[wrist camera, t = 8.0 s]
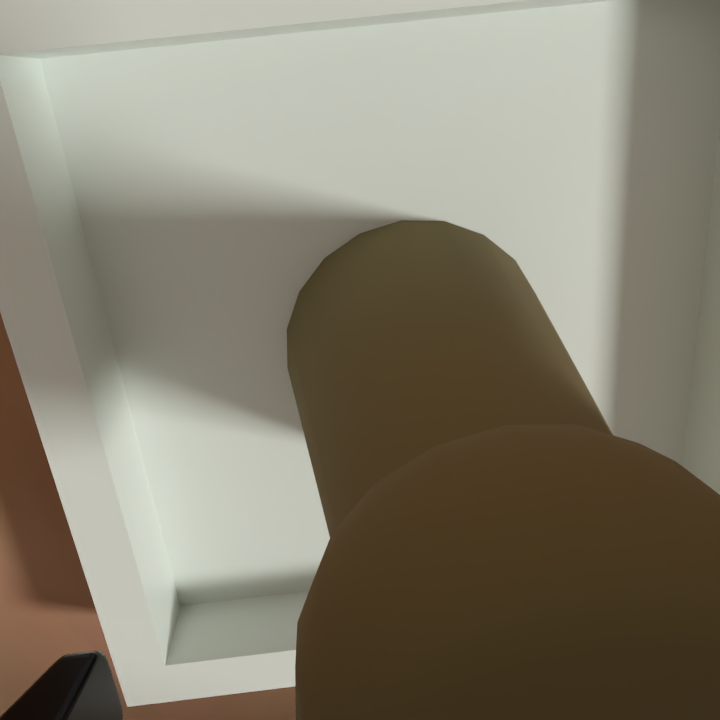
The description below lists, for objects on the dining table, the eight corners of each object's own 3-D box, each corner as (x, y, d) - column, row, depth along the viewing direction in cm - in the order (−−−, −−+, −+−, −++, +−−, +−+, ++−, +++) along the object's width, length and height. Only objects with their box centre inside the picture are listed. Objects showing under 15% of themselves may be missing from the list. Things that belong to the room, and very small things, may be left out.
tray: (770, -78, 14) (886, -119, 11) (693, 553, 20) (754, 629, 17) (-19, 0, 13) (-108, -22, 10) (154, 618, 19) (127, 706, 17)
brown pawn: (237, 293, 15) (72, 748, 5) (487, 170, 14) (934, 388, 4) (355, 496, 17) (417, 1102, 7) (576, 398, 16) (1005, 909, 6)
